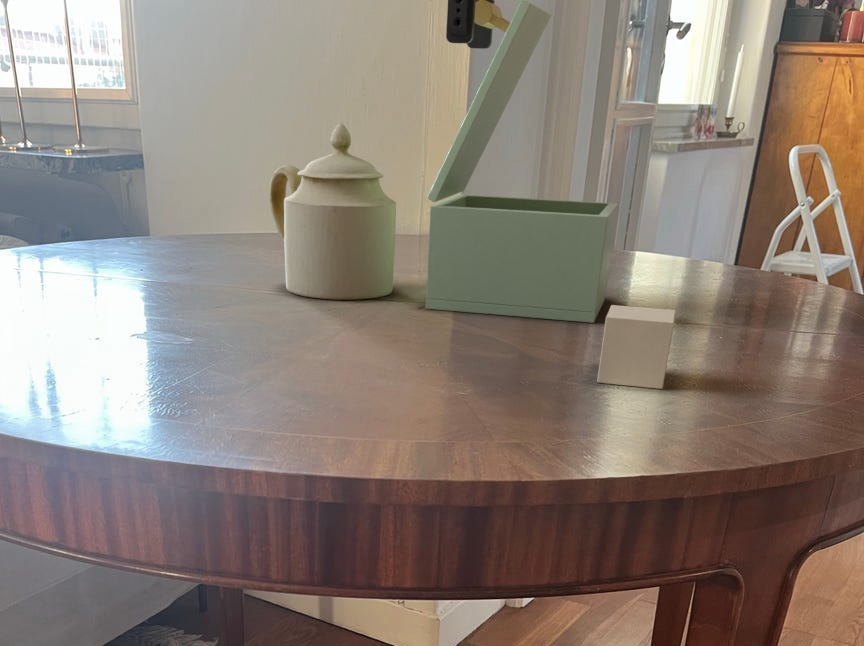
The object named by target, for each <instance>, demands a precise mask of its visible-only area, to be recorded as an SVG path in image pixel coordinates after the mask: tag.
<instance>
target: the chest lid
mask: <svg viewBox="0 0 864 646" xmlns="http://www.w3.org/2000/svg"><path fill="white" fill-rule="evenodd" d="M551 17H552V15H551V14H550V13H549V12H547V11H546V10H543V9H542V8H540V7H538V6H536V5H535V4H533V3H532V2H530V1H528V0H520V2H519V4H518V6H517V8H516V10H515V13H514V14H513V17H512V19H511V21H508V19H506V18H504V17H503V11H502V9H501V8H500V7H499V6H498V5H497V4H495V3H494V4H492V3H490V2H488V1H486V0H479V1H477V2H476V3H475V18H474V22H475V23H476V24H478V25H481V26H484V27H487V28H490V29H499V30H500V31H502V32H503V33H505V34H504V36H503V38H502V40H501V43H500V44H499V46H498V48H497V50H496V52H495V54H494V56H493V58H492V61H491V63H490V65H489V67H488V68H487V72H486V73H485V76H484V77H483V79H482V82H481V84H480V86H479V88H478V90H477V92H476V94H475V97H474V99H473V101H472V102H471V105H470V107H469V109H468V111H467V113H466V115H465V117H464V119H463V122H462V124H461V126H460V128H459V129H458V132H457V134H456V136H455V138H454V141H453V142H452V144H451V147H450V149H449V151H448V153H447V155H446V157H445V159H444V161H443V163H442V166H441V167H440V170H439V172H438V173H437V176H436V178H435V180H434V182H433V184H432V186H431V188H430V191H429V192H428V195H427V196H426V198H427V199H428V200H429V201H430V202H432V203H436V202H437V203H438V202H440V201H443V200H446V199H447V198H451V197H452V196H455V195H458V194H460V193H462V192H464V191H465V190H466V188H467V186H468V184H469V182H470V179H471V177H472V176H473V173H474V172H475V170H476V168H477V165H478V163H479V162H480V160H481V158H482V156H483V154H484V152H485V150H486V147H487V146H488V144H489V141H490V139H491V137H492V135H493V134H494V131H495V129H496V127H497V125H498V124H499V121H500V119H501V117H502V115H503V113H504V111H505V109H506V107H507V105H508V104H509V102H510V99H511V97H512V95H513V93H514V91H515V90H516V87H517V85H518V84H519V81H520V79H521V77H522V75H523V73H524V71H525V70H526V67H527V65H528V63H529V61H530V59H531V57H532V55H533V53H534V51H535V49H536V47H537V45H538V43H539V41H540V40H541V37H542V35H543V33H544V31H545V29H546V27H547V25H548V23H549V22H550V19H551Z"/></svg>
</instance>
